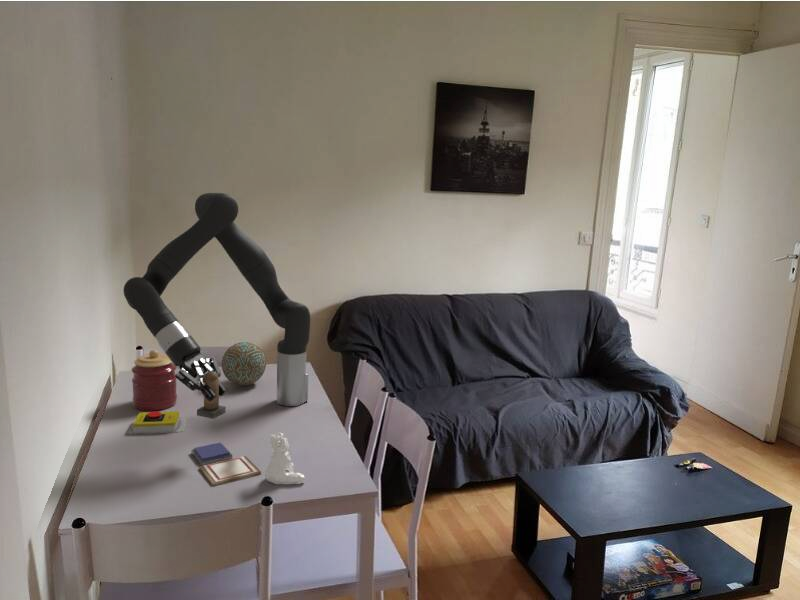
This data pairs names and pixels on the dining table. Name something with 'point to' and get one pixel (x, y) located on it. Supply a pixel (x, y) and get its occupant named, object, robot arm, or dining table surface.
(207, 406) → the stamp
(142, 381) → the canister
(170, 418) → the emergency button
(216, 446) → the ink pad
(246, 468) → the framed board
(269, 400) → the dining table surface
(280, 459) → the seated beast figurine
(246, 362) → the decorative sphere
